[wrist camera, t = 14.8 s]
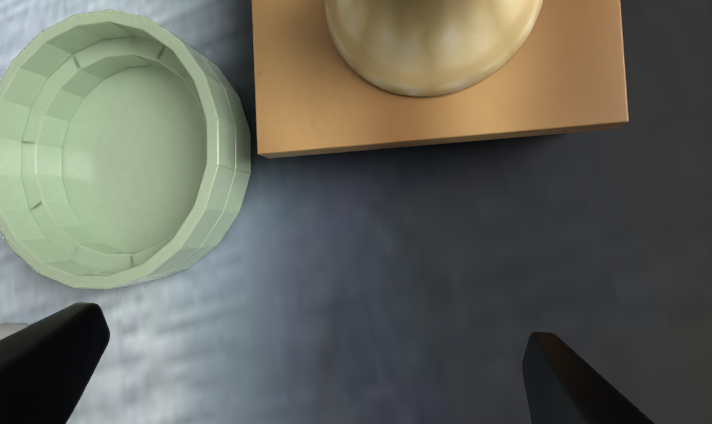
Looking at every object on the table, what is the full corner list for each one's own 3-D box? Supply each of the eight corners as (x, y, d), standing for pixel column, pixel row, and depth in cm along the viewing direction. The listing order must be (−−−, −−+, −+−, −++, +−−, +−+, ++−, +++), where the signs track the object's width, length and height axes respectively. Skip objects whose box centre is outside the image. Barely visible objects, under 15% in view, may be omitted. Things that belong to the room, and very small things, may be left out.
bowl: (284, 71, 21) (253, 42, 18) (213, 312, 22) (170, 329, 18) (80, 21, 24) (20, -13, 21) (21, 236, 25) (-47, 239, 21)
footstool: (572, -120, 19) (606, -210, 15) (589, 143, 18) (629, 121, 14) (282, -62, 22) (246, -125, 18) (291, 166, 21) (256, 154, 17)
